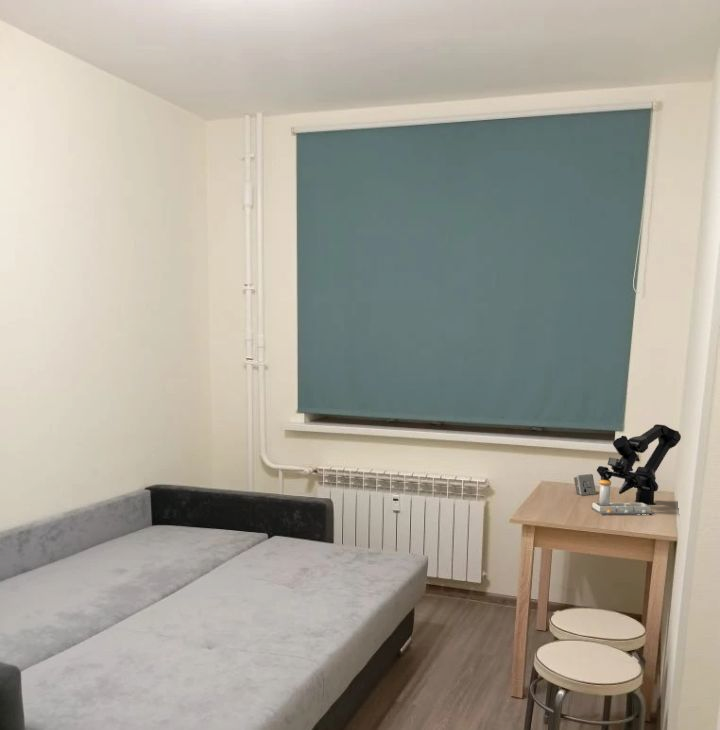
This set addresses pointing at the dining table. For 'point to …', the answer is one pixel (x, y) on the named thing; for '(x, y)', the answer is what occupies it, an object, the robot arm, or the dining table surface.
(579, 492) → the electrical switch
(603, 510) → the grey compartment tray
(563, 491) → the dining table surface
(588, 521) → the dining table surface
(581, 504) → the dining table surface
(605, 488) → the plug
